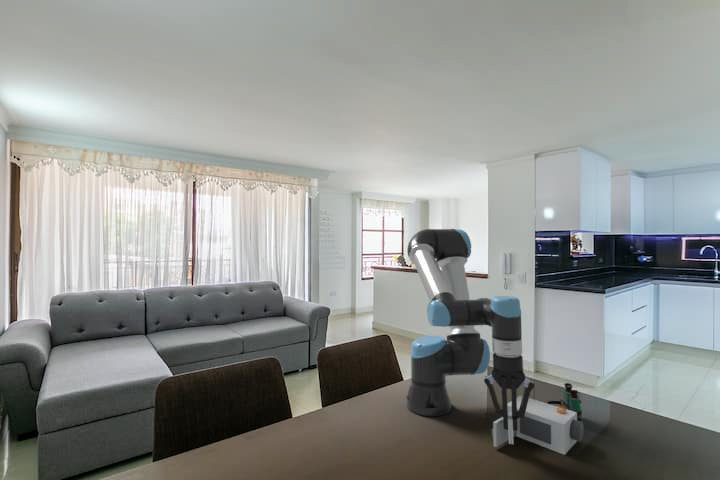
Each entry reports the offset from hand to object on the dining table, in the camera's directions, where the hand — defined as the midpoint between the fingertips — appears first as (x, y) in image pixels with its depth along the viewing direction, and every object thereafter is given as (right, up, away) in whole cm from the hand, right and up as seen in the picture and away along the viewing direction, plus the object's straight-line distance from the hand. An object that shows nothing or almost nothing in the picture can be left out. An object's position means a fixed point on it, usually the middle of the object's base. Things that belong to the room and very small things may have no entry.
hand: (510, 441), depth 98 cm
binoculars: (+24, -3, +17) cm, 29 cm away
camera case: (+11, -2, +7) cm, 14 cm away
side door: (0, -1, +4) cm, 4 cm away
